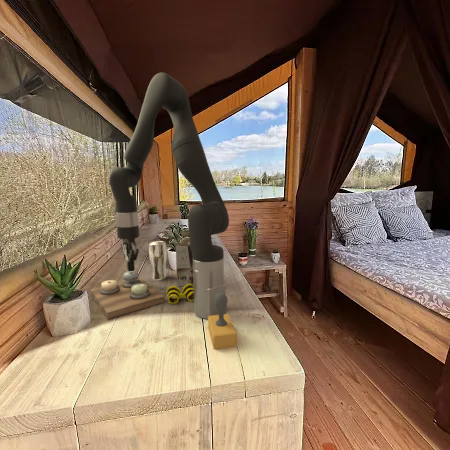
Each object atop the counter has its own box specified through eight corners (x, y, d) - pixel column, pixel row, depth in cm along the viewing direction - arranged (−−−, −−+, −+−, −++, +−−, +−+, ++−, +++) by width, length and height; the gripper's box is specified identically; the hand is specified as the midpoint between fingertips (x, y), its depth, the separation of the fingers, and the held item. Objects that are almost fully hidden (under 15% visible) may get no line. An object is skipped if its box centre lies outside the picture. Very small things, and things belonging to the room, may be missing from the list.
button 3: (140, 278, 100) (139, 273, 99) (126, 281, 97) (126, 276, 96) (135, 274, 104) (135, 269, 103) (122, 277, 101) (121, 272, 100)
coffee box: (192, 287, 102) (191, 245, 100) (176, 286, 104) (174, 245, 101) (199, 278, 111) (198, 240, 109) (184, 277, 113) (183, 239, 110)
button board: (164, 301, 91) (163, 293, 90) (107, 319, 80) (106, 309, 79) (140, 282, 108) (139, 275, 107) (91, 294, 97) (90, 286, 97)
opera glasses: (168, 307, 89) (167, 294, 87) (166, 297, 94) (166, 285, 92) (197, 302, 92) (197, 290, 90) (194, 293, 97) (194, 281, 95)
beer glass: (146, 279, 111) (144, 243, 109) (158, 274, 117) (156, 240, 115) (160, 282, 108) (158, 245, 106) (171, 276, 114) (169, 241, 112)
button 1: (119, 288, 94) (118, 282, 94) (103, 292, 92) (103, 286, 91) (114, 284, 98) (114, 278, 98) (100, 287, 95) (99, 281, 95)
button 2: (149, 292, 91) (149, 286, 90) (134, 296, 88) (134, 290, 87) (144, 287, 95) (143, 282, 94) (129, 291, 92) (129, 285, 91)
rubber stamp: (208, 327, 75) (207, 286, 73) (228, 325, 76) (228, 284, 74) (213, 349, 65) (212, 303, 63) (236, 346, 66) (236, 300, 64)
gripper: (144, 225, 94) (147, 273, 97) (132, 220, 105) (135, 264, 108) (122, 228, 90) (126, 278, 93) (111, 223, 100) (115, 268, 103)
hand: (131, 270), depth 100 cm, fingers closed
